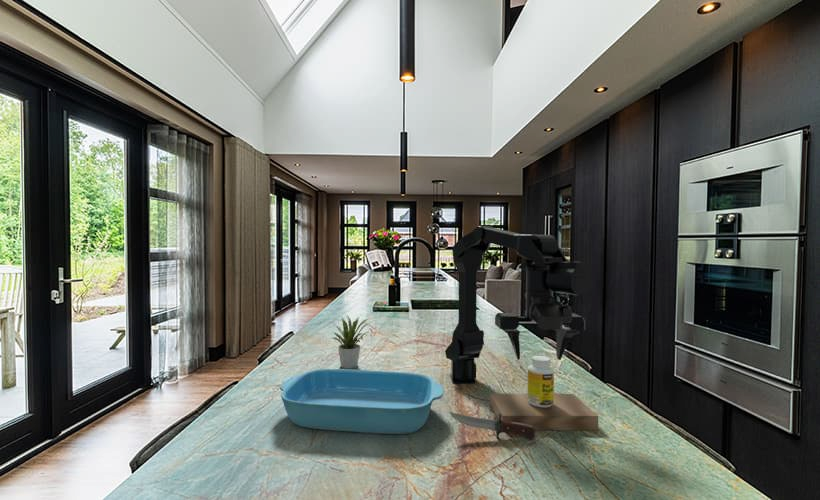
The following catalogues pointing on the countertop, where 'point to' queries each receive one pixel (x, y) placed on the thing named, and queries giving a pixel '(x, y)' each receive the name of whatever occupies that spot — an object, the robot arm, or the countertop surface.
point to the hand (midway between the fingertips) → (538, 359)
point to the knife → (497, 425)
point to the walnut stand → (545, 412)
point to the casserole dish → (360, 400)
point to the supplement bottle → (540, 382)
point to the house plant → (349, 343)
